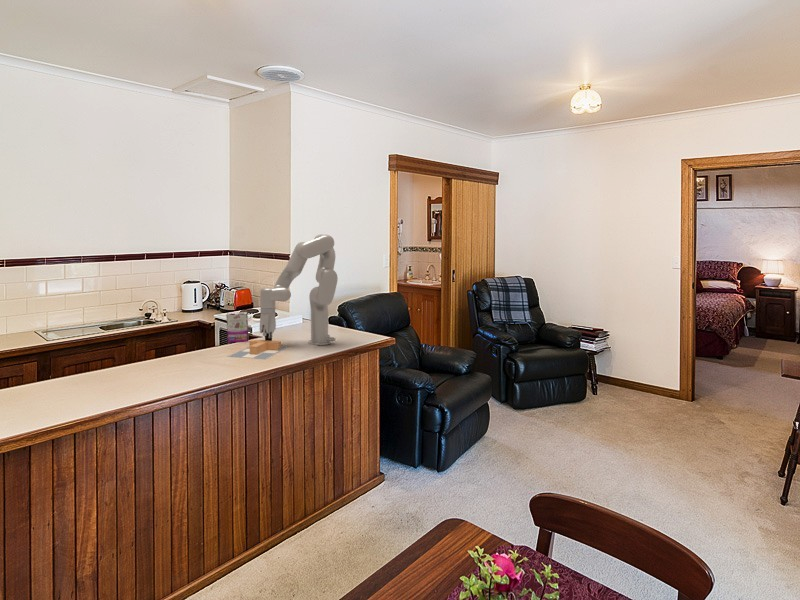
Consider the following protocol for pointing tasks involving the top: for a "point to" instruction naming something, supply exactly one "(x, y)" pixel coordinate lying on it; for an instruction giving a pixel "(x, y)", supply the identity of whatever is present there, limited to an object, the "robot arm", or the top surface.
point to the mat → (263, 355)
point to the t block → (263, 346)
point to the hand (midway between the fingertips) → (268, 345)
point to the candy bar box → (237, 327)
